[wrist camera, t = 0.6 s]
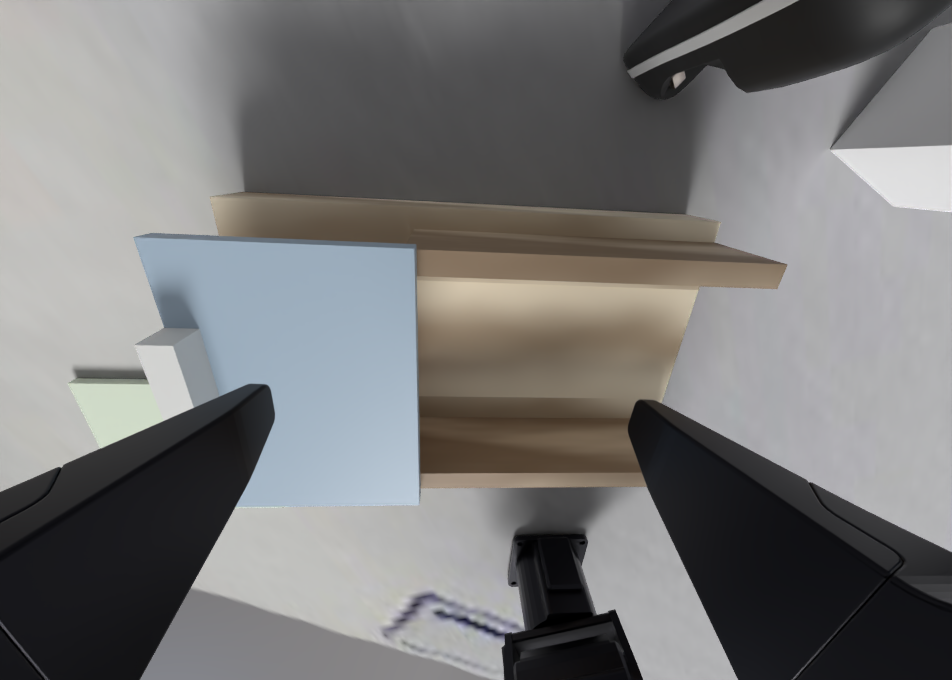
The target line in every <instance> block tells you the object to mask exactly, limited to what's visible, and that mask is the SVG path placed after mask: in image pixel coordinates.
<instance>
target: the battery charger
mask: <svg viewBox="0 0 952 680" xmlns="http://www.w3.org/2000/svg"><path fill="white" fill-rule="evenodd" d="M951 5H952V0H672V1H671V2H670V4H669V5H668V6H667V7H666V8H665V9H664V10H663V11H662V12H661V13H660V15H659V16H658V17H657V18H656V19H655V20H654V21H653V22H652V23H651V24H650V26H649V27H648V28H647V29H646V30H645V31H644V32H643V33H642V34H641V35H640V37H639V38H638V39H637V40H636V41H635V42H634V43H633V44H632V45H631V47H630V48H629V49H628V50H627V52H626V53H625V55H624V63H625V65H626V66H627V68H628V71H627V72H628V73H629V75H630V76H631V78H635V80H636V81H637V83H638V84H639V86H640V87H641V88H642V89H643V90H644V91H645V92H646V93H647V94H648V95H650V96H652V97H654V98H656V99H668V98H671V97H673V96H675V95H676V94H677V93H679V92H680V91H681V90H682V89H683V88H685V87H686V86H687V85H688V84H689V83H690V82H691V81H692V80H693V79H694V78H695V77H696V76H697V75H698V74H699V73H700V72H701V71H702V70H703V69H704V68H705V67H706V66H707V65H709V66H714V67H718V68H721V69H725V70H726V72H727V74H728V76H729V77H730V78H731V80H732V81H733V82H734V84H735V85H736V86H737V87H738V88H739V89H741V90H743V91H745V92H746V93H748V92H757V91H762V90H768V89H774V88H779V87H784V86H788V85H791V84H795V83H799V82H802V81H806V80H809V79H812V78H816V77H819V76H822V75H826V74H829V73H832V72H835V71H838V70H841V69H845V68H847V67H850V66H853V65H856V64H858V63H861V62H864V61H866V60H868V59H870V58H872V57H875V56H877V55H879V54H881V53H884V52H886V51H888V50H890V49H891V48H893V47H895V46H897V45H898V44H900V43H902V42H903V41H905V40H906V39H908V38H909V37H910V36H912V35H913V34H915V33H916V32H918V31H919V30H920V29H922V28H923V27H924V26H926V25H927V24H928V23H930V22H931V21H932V20H933V19H935V18H936V17H937V16H938V15H940V14H941V13H942V12H943V11H945V10H946V9H947V8H948V7H949V6H951Z"/></svg>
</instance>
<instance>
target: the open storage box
mask: <svg viewBox="0 0 952 680" xmlns="http://www.w3.org/2000/svg"><path fill="white" fill-rule="evenodd" d="M210 200H211V205H212V209H213V213H214V217H215V221H216V225H217V229H218V233H219V236H234V237H257V238H281V239H305V240H329V241H352V242H376V243H400V244H416V250H417V309H418V368H419V426H420V485H421V488H535V487H647V485H646V483H645V480H644V478H643V475H642V472H641V469H640V466H639V463H638V461H637V458H636V455H635V452H634V449H633V446H632V444H631V441H630V438H629V435H628V423H629V420H630V417H631V414H632V411H633V408H634V405H635V403H636V401H637V400H639V399H650V400H656V401H658V402H660V403H662V400H663V397H664V394H665V391H666V388H667V385H668V382H669V379H670V376H671V373H672V370H673V367H674V363H675V360H676V357H677V354H678V351H679V348H680V345H681V342H682V339H683V336H684V333H685V330H686V327H687V324H688V321H689V318H690V315H691V312H692V309H693V306H694V303H695V299H696V296H697V293H698V290H699V287H700V286H706V287H734V288H762V289H777V288H778V286H779V284H780V281H781V279H782V277H783V274H784V272H785V269H786V267H787V264H784V263H780V262H777V261H774V260H770V259H767V258H764V257H760V256H757V255H754V254H750V253H747V252H744V251H740V250H737V249H734V248H730V247H727V246H724V245H720V244H717V243H714V242H715V239H716V235H717V232H718V229H719V226H720V223H721V222H719V221H714V220H709V219H705V218H700V217H696V216H691V215H686V214H667V213H648V212H628V211H608V210H589V209H569V208H549V207H530V206H510V205H490V204H471V203H451V202H431V201H412V200H392V199H372V198H353V197H333V196H313V195H293V194H274V193H254V192H240V193H233V194H226V195H218V196H211V197H210Z"/></svg>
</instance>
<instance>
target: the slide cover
mask: <svg viewBox="0 0 952 680" xmlns="http://www.w3.org/2000/svg"><path fill="white" fill-rule="evenodd" d="M133 238H134V241H135V244H136V246H137V249H138V252H139V255H140V258H141V261H142V264H143V267H144V270H145V273H146V276H147V279H148V281H149V284H150V287H151V290H152V293H153V296H154V299H155V302H156V305H157V308H158V311H159V314H160V316H161V319H162V322H163V325H164V328H163V329H161V330H160V331H158V332H156V333H154V334H153V335H151V336H149V337H147V338H146V339H144V340H142V341H140V342H139V343H137V344H135V345H134V346H135V349H136V351H137V354H138V357H139V359H140V362H141V364H142V367H143V369H144V372H145V375H146V377H147V380H148V382H149V385H150V387H151V390H152V392H153V395H154V398H155V400H156V403H157V405H158V408H159V410H160V413H161V415H162V418H163V421H165V420H167V419H169V418H171V417H174V416H176V415H178V414H181V413H183V412H185V411H187V410H190V409H192V408H194V407H196V406H199V405H201V404H203V403H206V402H208V401H210V400H212V399H215V398H217V397H219V396H222V395H224V394H226V393H228V392H231V391H233V390H235V389H238V388H240V387H242V386H244V385H247V384H251V383H252V384H267V385H268V386H269V387H270V389H271V393H272V398H273V404H274V409H275V421H274V424H273V427H272V429H271V431H270V434H269V436H268V439H267V441H266V443H265V446H264V448H263V451H262V453H261V455H260V458H259V460H258V463H257V465H256V467H255V470H254V472H253V474H252V477H251V479H250V481H249V483H248V485H247V487H246V489H245V491H244V492H243V494H242V496H241V498H240V500H239V501H238V503H237V505H236V507H298V506H392V505H419V503H420V493H421V485H420V426H419V368H418V309H417V250H416V244H400V243H376V242H352V241H329V240H305V239H281V238H257V237H234V236H210V235H186V234H162V233H150V234H145V235H141V236H137V237H133Z"/></svg>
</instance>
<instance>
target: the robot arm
mask: <svg viewBox="0 0 952 680" xmlns="http://www.w3.org/2000/svg"><path fill="white" fill-rule="evenodd" d="M274 421H275V409H274V404H273V398H272V393H271V389H270V387H269V386H268V385H267V384H252V383H251V384H247V385H244V386H242V387H240V388H238V389H235V390H233V391H231V392H228V393H226V394H224V395H222V396H219V397H217V398H215V399H212V400H210V401H208V402H206V403H203V404H201V405H199V406H196V407H194V408H192V409H190V410H187V411H185V412H183V413H181V414H178V415H176V416H174V417H171V418H169V419H167V420H165V421H162V422H160V423H158V424H155V425H153V426H151V427H149V428H146V429H144V430H142V431H139V432H137V433H135V434H133V435H130V436H128V437H126V438H123V439H121V440H119V441H117V442H114V443H112V444H110V445H107V446H105V447H103V448H101V449H98V450H96V451H94V452H92V453H89V454H87V455H85V456H82V457H80V458H78V459H76V460H73V461H71V462H69V463H66V464H64V465H63V467H62V468H61V467H57V468H55V469H52V470H50V471H48V472H46V473H43V474H41V475H39V476H37V477H34V478H32V479H30V480H27V481H25V482H23V483H20V484H18V485H16V486H13V487H11V488H8V489H6V490H4V491H1V492H0V680H140V678H141V677H142V675H143V673H144V671H145V669H146V668H147V666H148V664H149V662H150V660H151V658H152V657H153V655H154V653H155V651H156V649H157V648H158V646H159V644H160V642H161V640H162V639H163V637H164V635H165V633H166V631H167V629H168V628H169V626H170V624H171V622H172V621H173V619H174V617H175V615H176V613H177V611H178V610H179V608H180V606H181V604H182V603H183V601H184V599H185V597H186V595H187V593H188V592H189V590H190V588H191V586H192V584H193V583H194V581H195V579H196V577H197V575H198V574H199V572H200V570H201V568H202V566H203V565H204V563H205V561H206V559H207V557H208V556H209V554H210V552H211V550H212V548H213V547H214V545H215V543H216V541H217V539H218V537H219V536H220V534H221V532H222V530H223V528H224V527H225V525H226V523H227V521H228V519H229V518H230V516H231V514H232V512H233V510H234V509H235V507H236V505H237V503H238V501H239V500H240V498H241V496H242V494H243V492H244V491H245V489H246V487H247V485H248V483H249V481H250V479H251V477H252V474H253V472H254V470H255V467H256V465H257V463H258V460H259V458H260V455H261V453H262V451H263V448H264V446H265V443H266V441H267V439H268V436H269V434H270V431H271V429H272V427H273V424H274ZM628 435H629V438H630V441H631V444H632V446H633V449H634V452H635V455H636V458H637V461H638V463H639V466H640V469H641V472H642V475H643V478H644V480H645V483H646V485H647V488H648V490H649V492H650V495H651V497H652V499H653V501H654V503H655V505H656V508H657V510H658V512H659V514H660V516H661V518H662V520H663V522H664V524H665V526H666V529H667V531H668V533H669V535H670V537H671V539H672V541H673V543H674V545H675V548H676V550H677V552H678V554H679V556H680V558H681V560H682V562H683V564H684V567H685V569H686V571H687V573H688V575H689V577H690V579H691V581H692V583H693V586H694V588H695V590H696V592H697V594H698V596H699V598H700V600H701V602H702V605H703V607H704V609H705V611H706V613H707V615H708V617H709V619H710V621H711V623H712V626H713V628H714V630H715V632H716V634H717V636H718V638H719V640H720V642H721V645H722V647H723V649H724V651H725V653H726V655H727V657H728V659H729V661H730V664H731V666H732V668H733V670H734V672H735V674H736V676H737V678H738V680H952V552H950V551H948V550H946V549H944V548H942V547H940V546H938V545H936V544H934V543H932V542H929V541H927V540H925V539H923V538H921V537H919V536H917V535H915V534H913V533H911V532H909V531H907V530H905V529H902V528H900V527H898V526H896V525H894V524H892V523H890V522H888V521H886V520H884V519H882V518H880V517H878V516H876V515H874V514H872V513H870V512H868V511H866V510H864V509H862V508H860V507H858V506H856V505H854V504H852V503H850V502H848V501H846V500H844V499H842V498H840V497H838V496H837V495H835V494H833V493H831V492H829V491H827V490H825V489H823V488H821V487H819V486H817V485H816V484H814V483H811V482H809V483H808V481H807V480H806V479H804V478H802V477H800V476H798V475H796V474H794V473H793V472H791V471H789V470H787V469H785V468H783V467H781V466H779V465H777V464H775V463H774V462H772V461H770V460H768V459H766V458H764V457H762V456H760V455H758V454H756V453H755V452H753V451H751V450H749V449H747V448H745V447H743V446H741V445H739V444H737V443H736V442H734V441H732V440H730V439H728V438H726V437H724V436H722V435H720V434H719V433H717V432H715V431H713V430H711V429H709V428H707V427H705V426H703V425H701V424H700V423H698V422H696V421H694V420H692V419H690V418H688V417H686V416H684V415H682V414H681V413H679V412H677V411H675V410H673V409H671V408H669V407H667V406H665V405H663V404H662V403H660V402H658V401H656V400H650V399H639V400H637V401H636V403H635V405H634V408H633V411H632V414H631V417H630V420H629V423H628ZM587 544H588V540H587V537H586V536H585V535H542V536H517V537H515V538H514V540H513V547H512V553H511V560H510V567H509V574H508V584H509V586H511V587H519V593H520V600H521V606H522V613H523V619H524V626H525V631H522V632H517V633H513V634H512V632H510V633H506V634H505V645H504V646H503V647H502V655H503V666H504V680H643V678H642V676H641V673H640V670H639V668H638V665H637V662H636V660H635V657H634V655H633V653H632V650H631V648H630V645H629V643H628V640H627V638H626V635H625V633H624V630H623V628H622V625H621V623H620V620H619V618H618V615H617V613H616V610H610V611H608V613H604V614H599V615H597V614H596V611H595V608H594V605H593V601H592V598H591V595H590V592H589V589H588V586H587V583H586V579H585V576H584V573H583V570H582V567H581V566H582V562H583V559H584V555H585V552H586V548H587Z"/></svg>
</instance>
